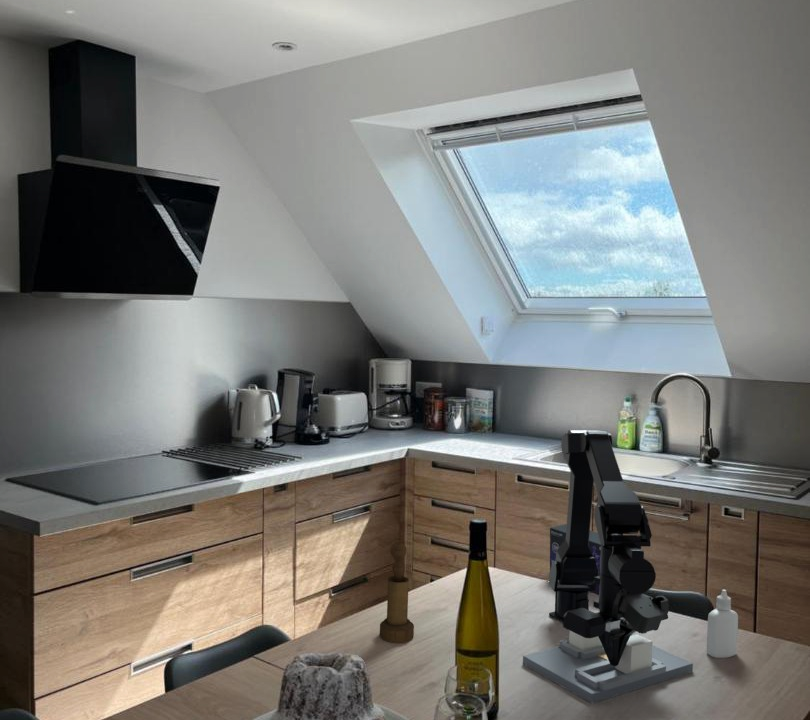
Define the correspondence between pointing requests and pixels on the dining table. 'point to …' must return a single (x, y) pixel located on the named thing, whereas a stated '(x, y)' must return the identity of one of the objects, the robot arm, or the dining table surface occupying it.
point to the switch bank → (601, 670)
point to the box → (559, 537)
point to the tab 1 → (583, 641)
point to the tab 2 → (636, 655)
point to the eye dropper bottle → (722, 629)
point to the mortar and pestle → (397, 602)
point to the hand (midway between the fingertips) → (614, 665)
